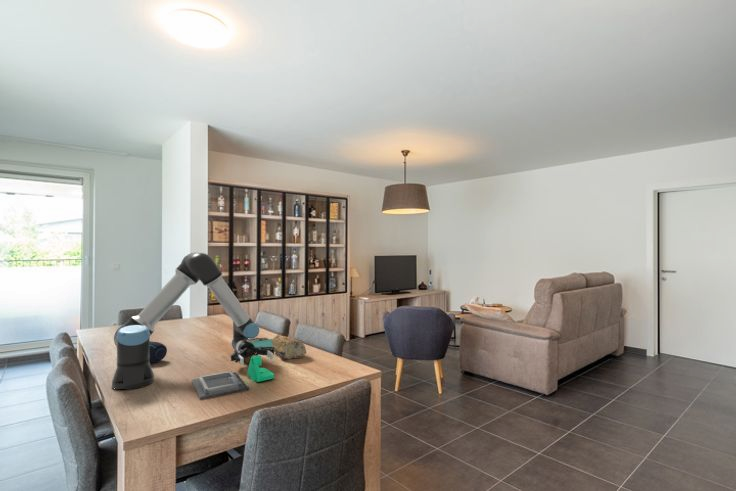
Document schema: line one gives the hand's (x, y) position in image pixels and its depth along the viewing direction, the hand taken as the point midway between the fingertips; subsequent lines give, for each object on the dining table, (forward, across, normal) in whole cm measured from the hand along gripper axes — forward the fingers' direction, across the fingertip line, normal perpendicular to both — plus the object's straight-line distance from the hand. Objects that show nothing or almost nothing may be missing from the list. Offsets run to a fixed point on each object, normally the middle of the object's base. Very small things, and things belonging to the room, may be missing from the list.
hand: (257, 359), depth 172 cm
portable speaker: (-50, +44, -6) cm, 67 cm away
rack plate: (+8, +18, -6) cm, 21 cm away
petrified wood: (-18, -21, -6) cm, 29 cm away
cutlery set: (-48, -17, -7) cm, 52 cm away
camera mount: (+8, +1, -6) cm, 11 cm away
